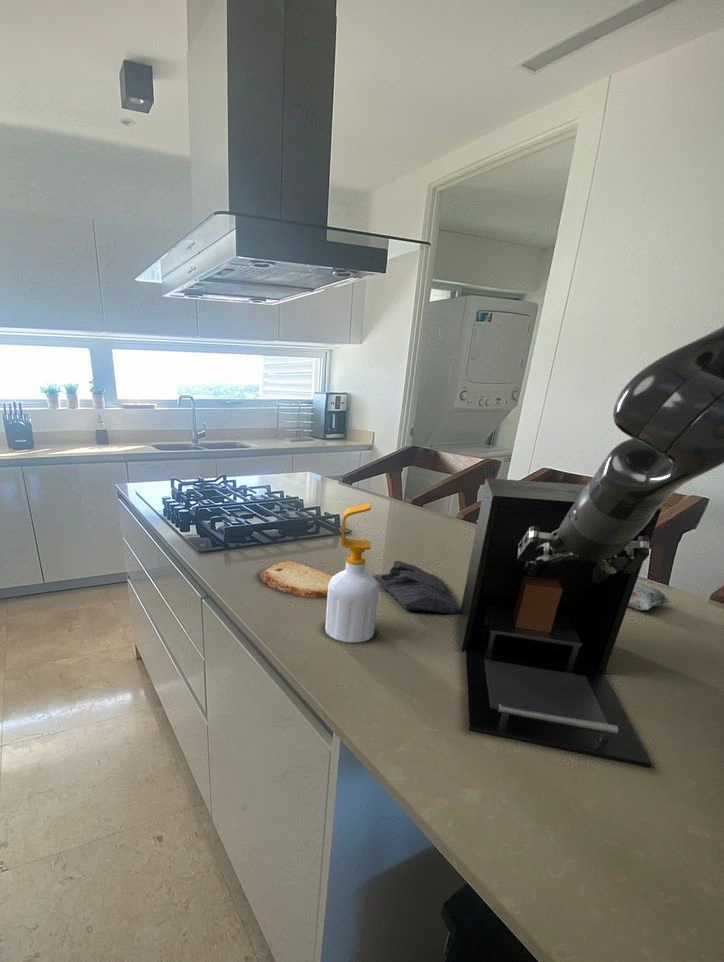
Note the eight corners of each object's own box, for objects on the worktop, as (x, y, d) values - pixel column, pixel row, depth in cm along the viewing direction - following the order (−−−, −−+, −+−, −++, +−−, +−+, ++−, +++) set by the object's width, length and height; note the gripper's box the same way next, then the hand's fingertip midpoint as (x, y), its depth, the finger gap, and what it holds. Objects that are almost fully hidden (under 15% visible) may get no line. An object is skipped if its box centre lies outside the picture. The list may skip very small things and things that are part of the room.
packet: (545, 621, 87) (557, 579, 83) (550, 632, 83) (562, 589, 80) (512, 616, 88) (522, 575, 85) (515, 627, 84) (526, 584, 81)
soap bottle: (373, 647, 87) (389, 512, 77) (323, 642, 89) (332, 509, 79) (373, 625, 95) (387, 500, 85) (327, 620, 97) (335, 497, 87)
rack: (562, 635, 90) (568, 616, 89) (575, 665, 81) (582, 644, 79) (482, 623, 94) (486, 605, 93) (485, 650, 85) (490, 630, 83)
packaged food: (645, 619, 100) (653, 597, 98) (588, 598, 109) (594, 577, 107) (667, 611, 103) (675, 590, 101) (610, 592, 113) (617, 572, 111)
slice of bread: (349, 598, 107) (350, 582, 105) (268, 602, 104) (268, 586, 103) (328, 569, 123) (329, 555, 121) (257, 572, 120) (258, 558, 119)
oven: (580, 634, 93) (625, 487, 82) (652, 772, 60) (746, 558, 48) (459, 616, 99) (486, 478, 88) (464, 733, 66) (508, 534, 55)
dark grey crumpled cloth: (392, 616, 99) (395, 595, 97) (373, 577, 119) (375, 558, 117) (467, 618, 99) (472, 596, 97) (435, 578, 119) (438, 559, 117)
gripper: (678, 492, 56) (617, 556, 71) (542, 483, 60) (511, 545, 75) (680, 550, 54) (617, 603, 68) (538, 536, 58) (507, 589, 72)
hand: (562, 573), depth 72 cm, fingers open, 8 cm apart
